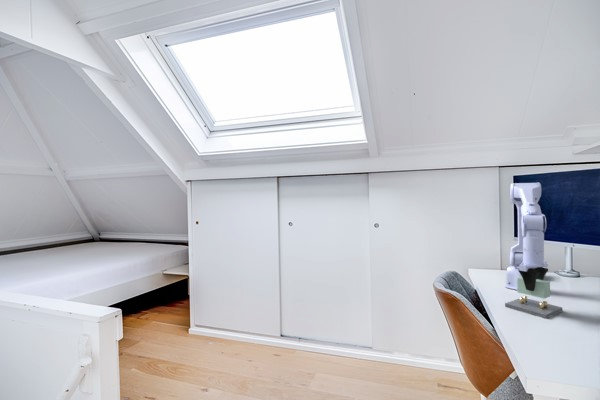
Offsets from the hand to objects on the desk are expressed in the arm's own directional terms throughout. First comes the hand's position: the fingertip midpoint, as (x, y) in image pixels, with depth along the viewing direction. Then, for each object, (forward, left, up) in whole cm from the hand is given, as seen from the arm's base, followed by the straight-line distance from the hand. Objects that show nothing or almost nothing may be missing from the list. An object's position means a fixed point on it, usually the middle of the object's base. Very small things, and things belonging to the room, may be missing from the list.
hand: (533, 289), depth 106 cm
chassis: (0, 0, -7) cm, 7 cm away
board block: (0, 0, -2) cm, 2 cm away
